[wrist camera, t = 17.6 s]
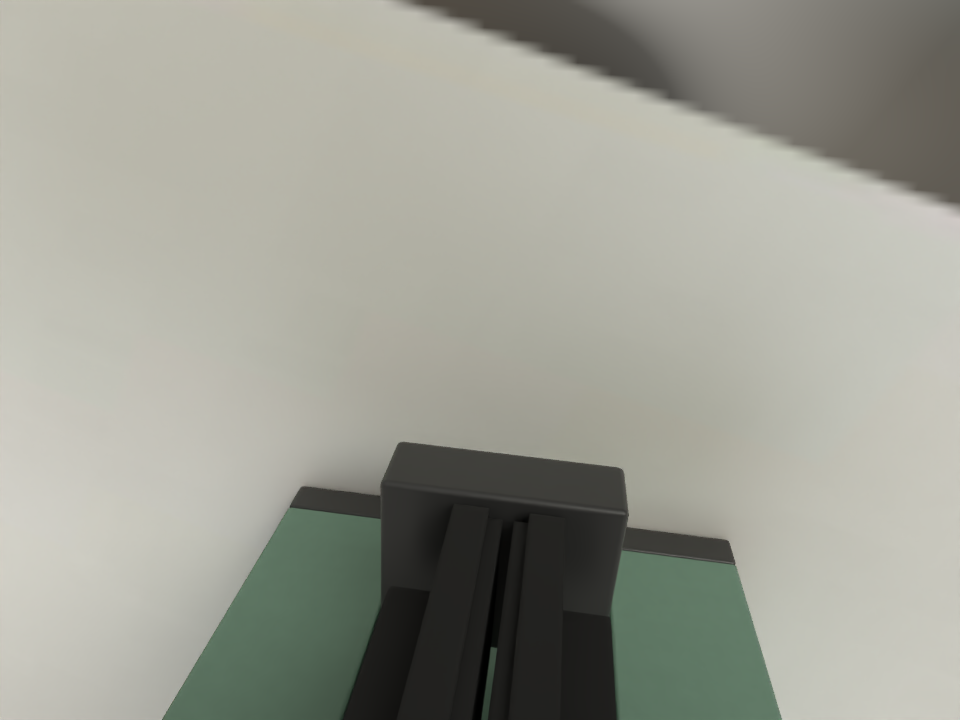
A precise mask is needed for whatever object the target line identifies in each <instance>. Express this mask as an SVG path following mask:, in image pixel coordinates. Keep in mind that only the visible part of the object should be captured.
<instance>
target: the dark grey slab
mask: <svg viewBox="0 0 960 720" xmlns="http://www.w3.org/2000/svg"><path fill="white" fill-rule="evenodd" d="M454 504H462V505H470V506H478V507H485V508H490V518H494V519H502V520H503V524H502V535H501V545H500V556H499V567H498V577H497V588H496V599H495V609H494V620H493V630H492V641H491V647H493V648H497V646H498V638H499V631H500V623H501V616H502V608H503V601H504V593H505V586H506V578H507V571H508V563H509V555H510V548H511V540H512V533H513V525H514V521H517V522H525V523H528V521H529V513H532V514H539V515H547V516H555V517H563V518H565V554H564V590H563V610H566V611H573V612H580V613H588V614H595V615H602V616H610V611H611V605H612V600H613V595H614V589H615V584H616V579H617V574H618V568H619V563H620V558H621V553H622V547H623V542H624V537H625V532H626V526H627V521H628V516H629V513H628V504H627V495H626V486H625V477H624V472H623V470H622V469H621V468H618V467H610V466H601V465H593V464H584V463H576V462H568V461H559V460H551V459H543V458H534V457H526V456H518V455H509V454H501V453H493V452H484V451H476V450H468V449H459V448H451V447H443V446H434V445H426V444H418V443H409V442H400V443H398V445H397V447H396V449H395V452H394V454H393V456H392V459H391V461H390V463H389V466H388V468H387V470H386V473H385V475H384V477H383V480H382V482H381V608H382V605H383V602H384V599H385V596H386V594H387V591H388V589H389V588H390V587H391V586H396V587H403V588H410V589H417V590H425V591H431V588H432V584H433V580H434V576H435V573H436V569H437V565H438V561H439V558H440V554H441V550H442V546H443V543H444V539H445V535H446V531H447V527H448V524H449V520H450V516H451V512H452V509H453V506H454Z"/></svg>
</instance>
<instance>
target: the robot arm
mask: <svg viewBox="0 0 960 720" xmlns="http://www.w3.org/2000/svg"><path fill="white" fill-rule="evenodd" d="M502 524H503V520H502V519H494V518H490V508H485V507H478V506H470V505H462V504H454V506H453V509H452V512H451V516H450V520H449V524H448V527H447V531H446V535H445V539H444V543H443V546H442V550H441V554H440V558H439V561H438V565H437V569H436V573H435V576H434V580H433V584H432V588H431V591H425V590H417V589H410V588H403V587H396V586H391V587H390V588H389V589H388V591H387V594H386V596H385V599H384V602H383V605H382V608H381V611H380V613H379V616H378V619H377V622H376V625H375V628H374V631H373V634H372V637H371V640H370V643H369V645H368V648H367V651H366V654H365V657H364V660H363V663H362V666H361V669H360V672H359V675H358V677H357V680H356V683H355V686H354V689H353V692H352V695H351V698H350V701H349V704H348V707H347V709H346V712H345V715H344V718H343V720H481V718H482V711H483V704H484V697H485V690H486V683H487V676H488V668H489V660H490V651H491V641H492V630H493V620H494V609H495V599H496V588H497V577H498V567H499V556H500V545H501V535H502ZM564 554H565V518H563V517H555V516H547V515H539V514H532V513H529V521H528V523H525V522H517V521H514V525H513V533H512V540H511V548H510V555H509V563H508V571H507V578H506V586H505V593H504V601H503V608H502V616H501V623H500V631H499V638H498V646H497V653H496V661H495V668H494V676H493V684H492V691H491V699H490V706H489V714H488V720H617V718H616V700H615V682H614V664H613V645H612V629H611V620H610V617H609V616H602V615H595V614H588V613H580V612H573V611H566V610H563V590H564Z"/></svg>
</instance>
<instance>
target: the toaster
mask: <svg viewBox="0 0 960 720" xmlns="http://www.w3.org/2000/svg"><path fill="white" fill-rule="evenodd" d="M380 611H381V496H374V495H366V494H359V493H351V492H343V491H335V490H327V489H319V488H311V487H301V488H300V490H299V491H298V493H297V495H296V496H295V498H294V500H293V501H292V503H291V505H290V508H289V509H288V510H287V512H286V514H285V515H284V517H283V519H282V520H281V522H280V524H279V525H278V527H277V529H276V530H275V532H274V534H273V535H272V537H271V539H270V540H269V542H268V544H267V545H266V547H265V549H264V550H263V552H262V554H261V555H260V557H259V559H258V560H257V562H256V564H255V565H254V567H253V569H252V570H251V572H250V574H249V575H248V577H247V579H246V580H245V582H244V584H243V585H242V587H241V589H240V590H239V592H238V594H237V595H236V597H235V599H234V600H233V602H232V604H231V605H230V607H229V609H228V610H227V612H226V614H225V615H224V617H223V619H222V620H221V622H220V624H219V625H218V627H217V629H216V630H215V632H214V634H213V635H212V637H211V639H210V641H209V642H208V644H207V646H206V647H205V649H204V651H203V652H202V654H201V656H200V657H199V659H198V661H197V662H196V664H195V666H194V667H193V669H192V671H191V672H190V674H189V676H188V677H187V679H186V681H185V682H184V684H183V686H182V687H181V689H180V691H179V692H178V694H177V696H176V697H175V699H174V701H173V702H172V704H171V706H170V707H169V709H168V711H167V712H166V714H165V716H164V717H163V719H162V720H343V718H344V715H345V712H346V709H347V707H348V704H349V701H350V698H351V695H352V692H353V689H354V686H355V683H356V680H357V677H358V675H359V672H360V669H361V666H362V663H363V660H364V657H365V654H366V651H367V648H368V645H369V643H370V640H371V637H372V634H373V631H374V628H375V625H376V622H377V619H378V616H379V613H380ZM609 617H610V620H611V629H612V645H613V664H614V682H615V700H616V718H617V720H782V718H781V715H780V712H779V708H778V705H777V702H776V698H775V695H774V692H773V688H772V685H771V681H770V678H769V675H768V671H767V668H766V665H765V661H764V658H763V655H762V651H761V648H760V645H759V641H758V638H757V635H756V631H755V628H754V625H753V621H752V618H751V615H750V611H749V608H748V604H747V601H746V598H745V594H744V591H743V588H742V584H741V581H740V578H739V574H738V571H737V568H736V566H735V560H734V557H733V553H732V550H731V547H730V543H729V541H727V540H721V539H713V538H706V537H698V536H690V535H682V534H674V533H666V532H658V531H650V530H642V529H635V528H627V527H626V532H625V537H624V542H623V547H622V553H621V558H620V563H619V568H618V574H617V579H616V584H615V589H614V595H613V600H612V605H611V611H610V616H609ZM496 653H497V648H493V647H491V651H490V660H489V668H488V676H487V683H486V690H485V697H484V704H483V711H482V718H481V720H488V714H489V706H490V699H491V691H492V684H493V676H494V668H495V661H496Z"/></svg>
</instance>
